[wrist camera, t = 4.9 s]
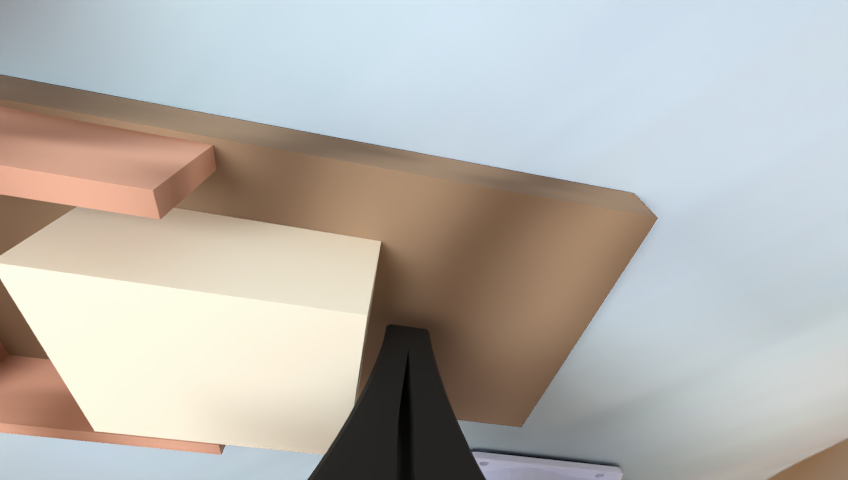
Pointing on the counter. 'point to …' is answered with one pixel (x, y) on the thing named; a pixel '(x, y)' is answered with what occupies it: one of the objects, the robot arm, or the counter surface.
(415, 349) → the robot arm
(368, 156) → the open-sided wooden box
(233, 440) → the carton
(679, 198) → the counter surface
